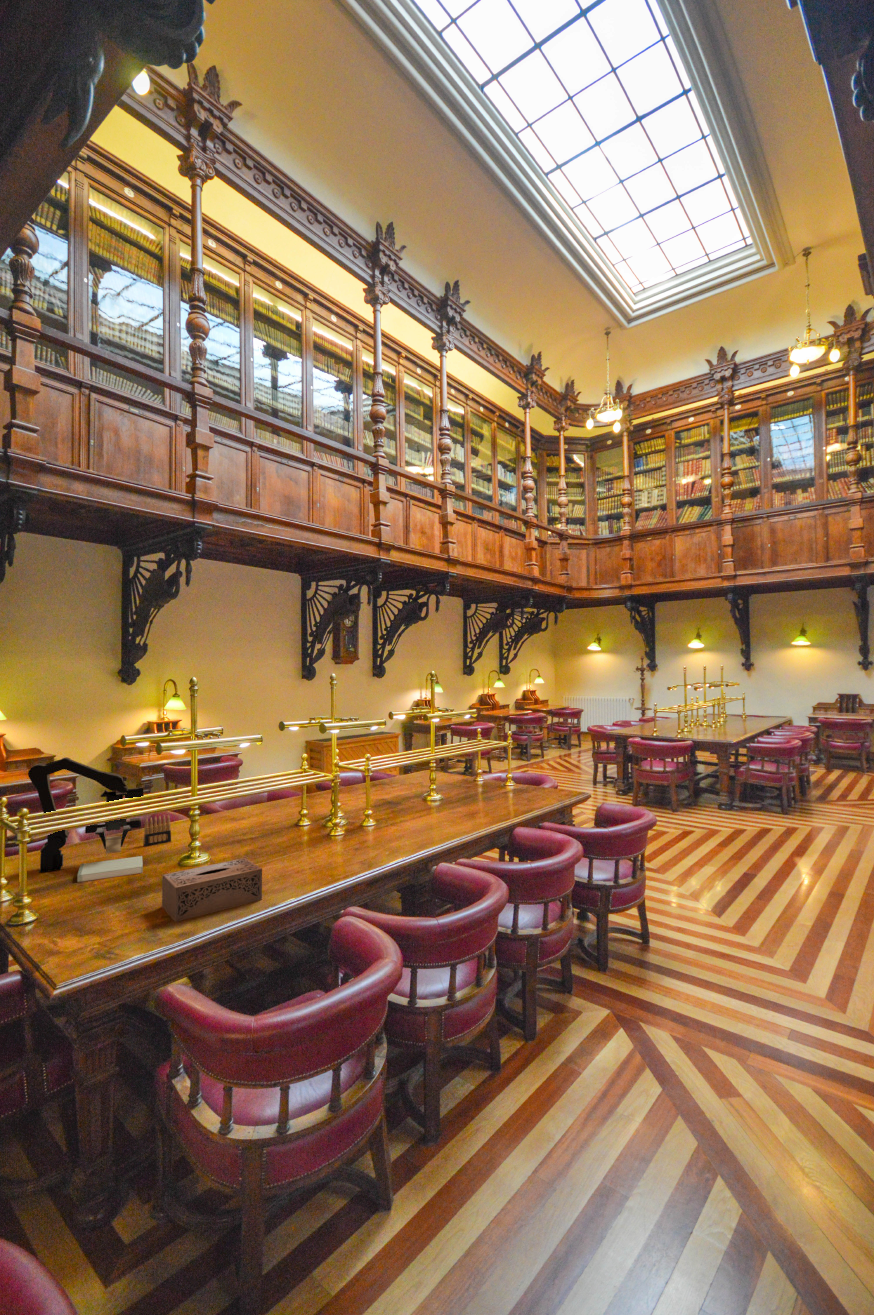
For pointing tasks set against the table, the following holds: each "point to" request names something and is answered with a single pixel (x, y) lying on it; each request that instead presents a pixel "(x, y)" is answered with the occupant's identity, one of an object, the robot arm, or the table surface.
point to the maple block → (113, 844)
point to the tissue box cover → (211, 888)
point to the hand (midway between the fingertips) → (113, 848)
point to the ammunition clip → (157, 836)
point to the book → (110, 868)
